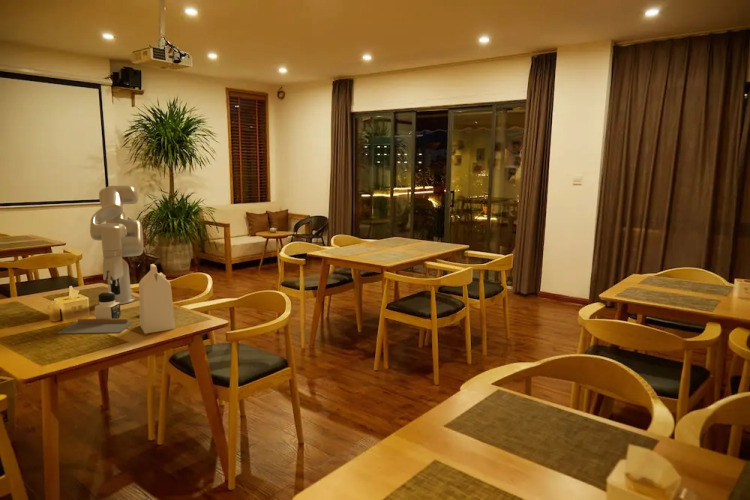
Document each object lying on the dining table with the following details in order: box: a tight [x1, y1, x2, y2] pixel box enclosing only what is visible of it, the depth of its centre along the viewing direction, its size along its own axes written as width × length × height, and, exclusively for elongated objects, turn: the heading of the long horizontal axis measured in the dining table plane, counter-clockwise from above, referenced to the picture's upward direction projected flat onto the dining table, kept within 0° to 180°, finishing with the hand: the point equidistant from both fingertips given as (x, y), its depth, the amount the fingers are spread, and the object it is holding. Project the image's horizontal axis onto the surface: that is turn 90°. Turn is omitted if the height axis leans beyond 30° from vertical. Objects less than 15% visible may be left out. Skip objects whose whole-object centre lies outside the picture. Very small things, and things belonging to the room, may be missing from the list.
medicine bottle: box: [94, 291, 122, 319], centre depth 210 cm, size 7×7×12 cm
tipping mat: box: [56, 317, 134, 335], centre depth 200 cm, size 13×24×2 cm, turn 94°
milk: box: [138, 263, 176, 334], centre depth 201 cm, size 12×12×26 cm
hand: (115, 294), depth 218 cm, fingers closed
